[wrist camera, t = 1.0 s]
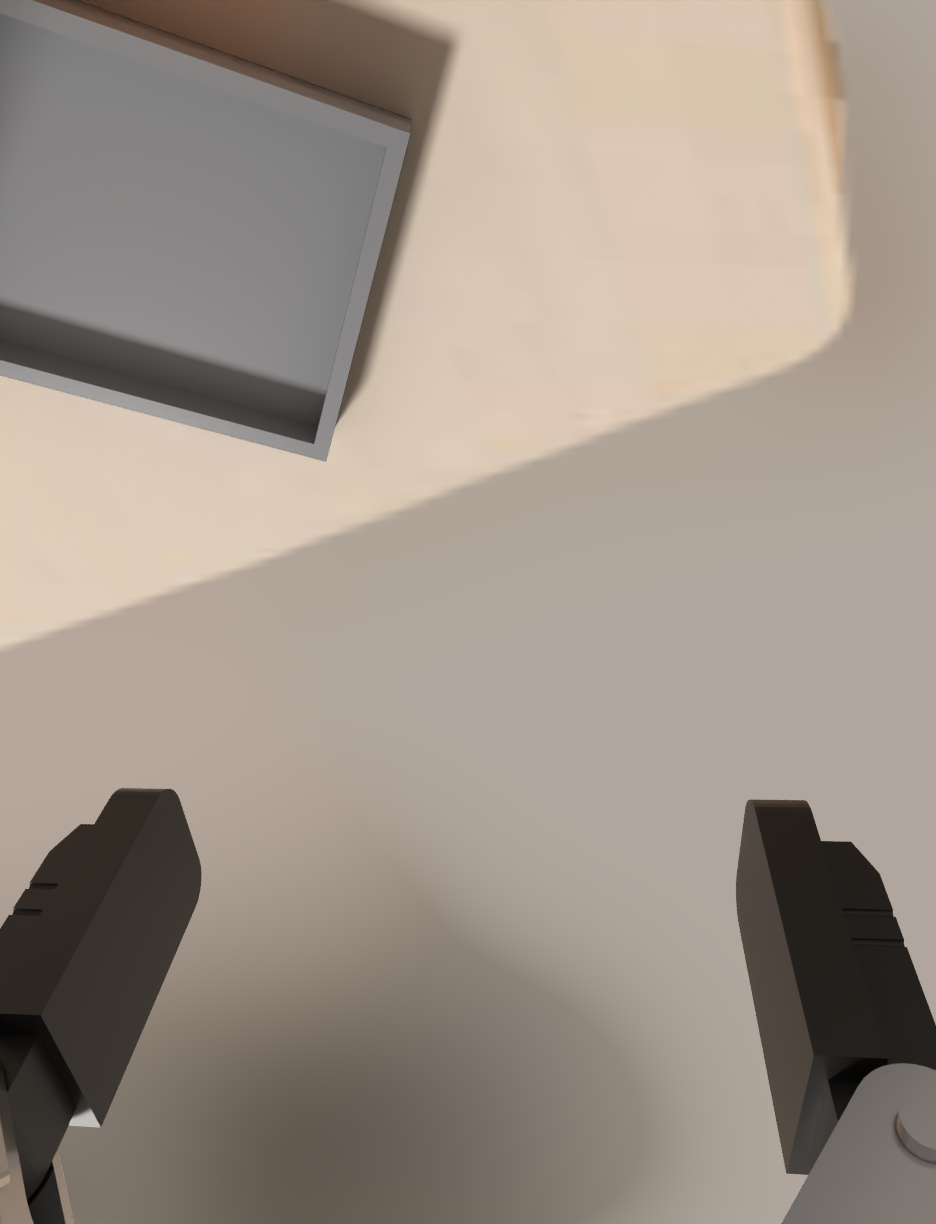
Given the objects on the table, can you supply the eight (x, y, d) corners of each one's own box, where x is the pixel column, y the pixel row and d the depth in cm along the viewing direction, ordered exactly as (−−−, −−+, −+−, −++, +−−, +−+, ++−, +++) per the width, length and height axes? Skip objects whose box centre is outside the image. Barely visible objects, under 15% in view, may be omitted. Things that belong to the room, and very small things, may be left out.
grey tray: (-34, 333, 34) (-62, 358, 32) (-38, -41, 27) (-74, -38, 25) (331, 432, 37) (326, 461, 35) (411, 119, 30) (410, 133, 28)
